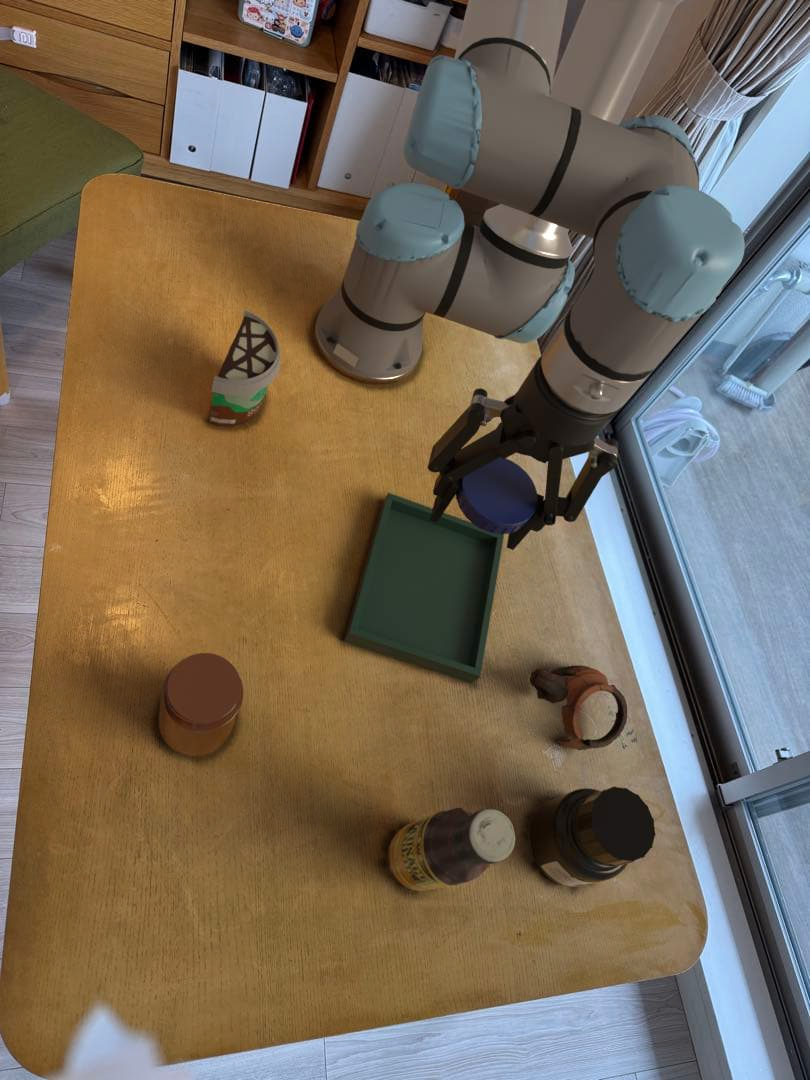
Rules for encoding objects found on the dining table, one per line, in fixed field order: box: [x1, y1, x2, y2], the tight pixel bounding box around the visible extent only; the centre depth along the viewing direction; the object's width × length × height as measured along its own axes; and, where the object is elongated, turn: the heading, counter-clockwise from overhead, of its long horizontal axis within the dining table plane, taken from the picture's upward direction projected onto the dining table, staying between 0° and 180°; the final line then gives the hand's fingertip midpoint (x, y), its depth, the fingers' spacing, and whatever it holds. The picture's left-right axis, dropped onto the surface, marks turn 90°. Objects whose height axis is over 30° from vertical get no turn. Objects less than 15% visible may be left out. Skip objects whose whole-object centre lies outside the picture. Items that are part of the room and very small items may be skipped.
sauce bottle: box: [386, 807, 516, 892], centre depth 69 cm, size 6×6×20 cm
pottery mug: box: [528, 664, 628, 751], centre depth 88 cm, size 12×10×8 cm
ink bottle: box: [528, 786, 656, 888], centre depth 78 cm, size 10×9×12 cm
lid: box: [455, 457, 538, 535], centre depth 74 cm, size 8×8×2 cm
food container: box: [209, 309, 282, 428], centre depth 94 cm, size 12×6×10 cm, turn 168°
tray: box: [343, 492, 505, 684], centre depth 92 cm, size 20×16×3 cm
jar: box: [158, 652, 244, 757], centre depth 73 cm, size 7×7×11 cm
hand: (474, 524), depth 79 cm, fingers closed on lid, 8 cm apart
